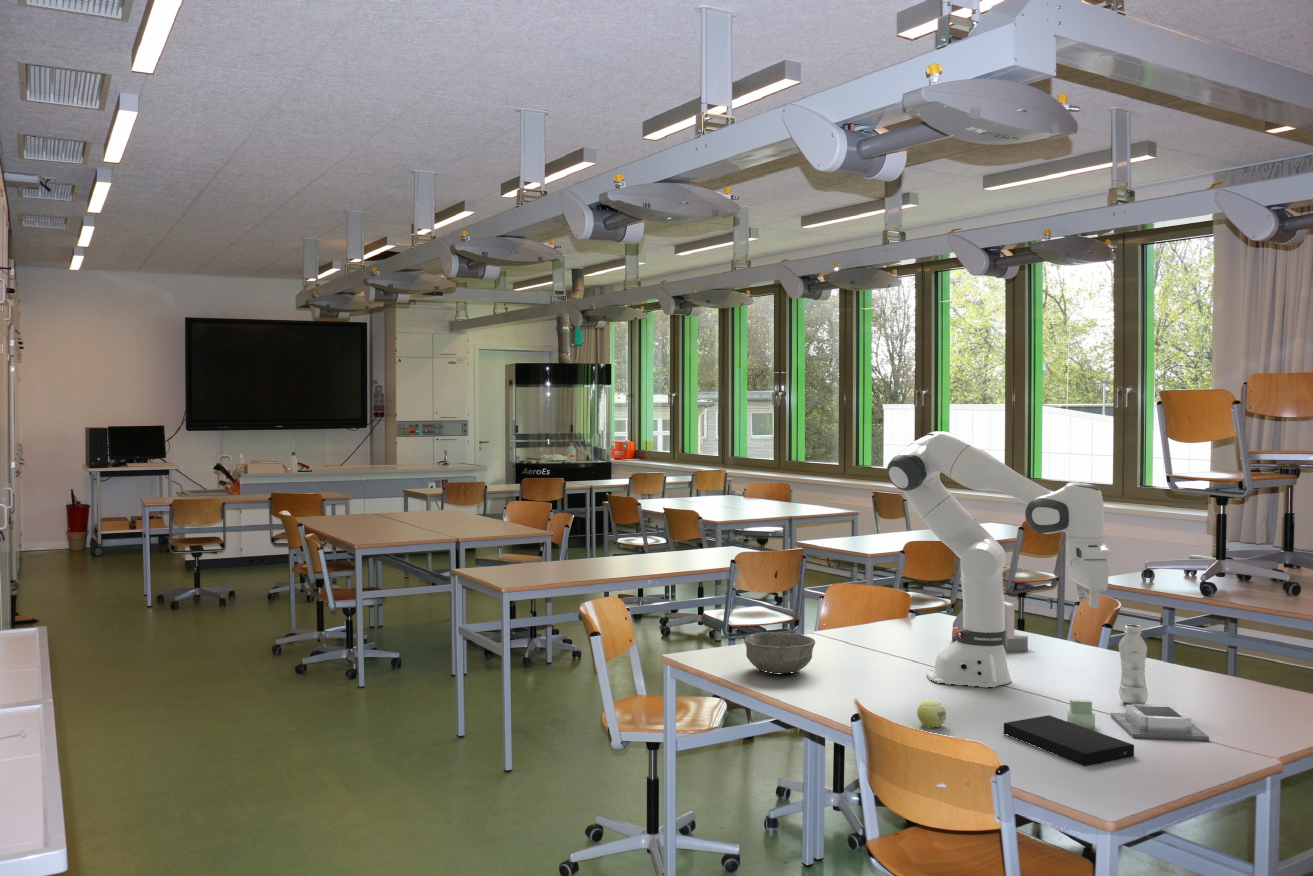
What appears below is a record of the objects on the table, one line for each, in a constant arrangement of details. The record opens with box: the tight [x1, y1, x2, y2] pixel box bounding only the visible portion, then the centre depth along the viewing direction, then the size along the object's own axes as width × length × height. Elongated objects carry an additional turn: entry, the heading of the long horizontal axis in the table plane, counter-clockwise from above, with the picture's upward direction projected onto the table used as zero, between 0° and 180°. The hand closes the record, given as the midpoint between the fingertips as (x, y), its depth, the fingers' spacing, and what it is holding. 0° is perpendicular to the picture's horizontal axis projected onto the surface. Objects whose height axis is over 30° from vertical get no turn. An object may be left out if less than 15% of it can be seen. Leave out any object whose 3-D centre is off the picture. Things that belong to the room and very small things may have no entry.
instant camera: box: [951, 600, 1029, 653], centre depth 309 cm, size 21×21×15 cm
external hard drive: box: [1003, 714, 1135, 767], centre depth 211 cm, size 14×23×3 cm, turn 24°
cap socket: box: [1110, 703, 1210, 742], centre depth 222 cm, size 16×16×4 cm
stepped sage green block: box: [1066, 698, 1096, 730], centre depth 225 cm, size 6×6×6 cm
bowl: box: [743, 631, 816, 674], centre depth 275 cm, size 21×21×10 cm
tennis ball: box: [916, 698, 947, 728], centre depth 225 cm, size 6×7×7 cm
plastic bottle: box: [1118, 623, 1149, 705], centre depth 241 cm, size 6×7×20 cm
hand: (1087, 604), depth 233 cm, fingers open, 8 cm apart
